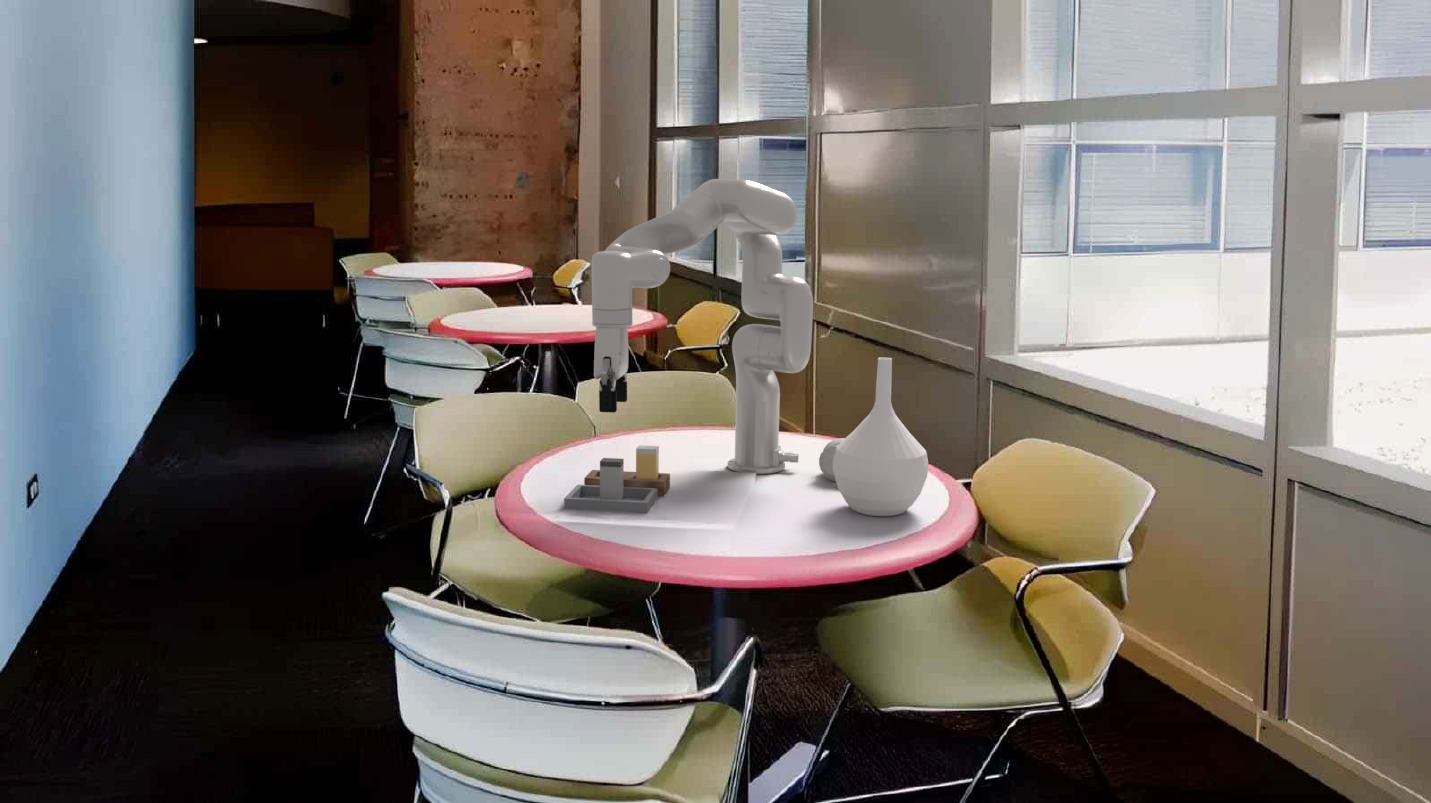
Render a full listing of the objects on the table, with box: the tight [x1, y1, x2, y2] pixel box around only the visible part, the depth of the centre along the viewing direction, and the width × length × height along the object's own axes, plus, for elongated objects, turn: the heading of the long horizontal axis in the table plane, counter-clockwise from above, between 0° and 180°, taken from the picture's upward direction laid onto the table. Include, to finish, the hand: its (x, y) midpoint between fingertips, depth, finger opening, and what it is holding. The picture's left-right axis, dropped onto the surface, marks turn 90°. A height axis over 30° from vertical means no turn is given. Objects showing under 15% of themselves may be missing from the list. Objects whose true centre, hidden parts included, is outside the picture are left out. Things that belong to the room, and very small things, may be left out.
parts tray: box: [563, 484, 659, 514], centre depth 253 cm, size 16×11×3 cm
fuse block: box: [583, 469, 671, 498], centre depth 263 cm, size 16×7×4 cm, turn 82°
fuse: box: [635, 444, 660, 480], centre depth 262 cm, size 4×3×9 cm
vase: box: [833, 356, 929, 517], centre depth 253 cm, size 18×18×30 cm
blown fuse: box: [599, 457, 625, 500], centre depth 252 cm, size 4×3×9 cm
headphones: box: [818, 437, 846, 483], centre depth 280 cm, size 18×8×20 cm
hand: (613, 406), depth 250 cm, fingers open, 9 cm apart
